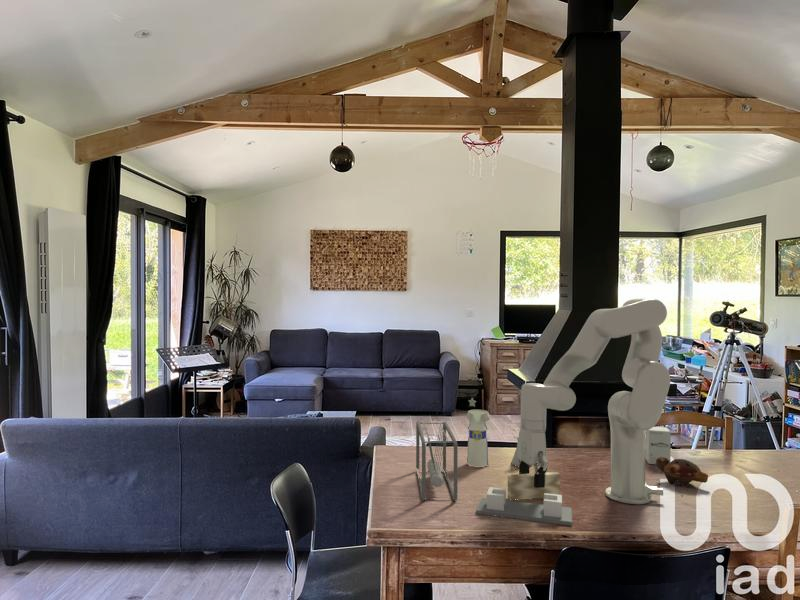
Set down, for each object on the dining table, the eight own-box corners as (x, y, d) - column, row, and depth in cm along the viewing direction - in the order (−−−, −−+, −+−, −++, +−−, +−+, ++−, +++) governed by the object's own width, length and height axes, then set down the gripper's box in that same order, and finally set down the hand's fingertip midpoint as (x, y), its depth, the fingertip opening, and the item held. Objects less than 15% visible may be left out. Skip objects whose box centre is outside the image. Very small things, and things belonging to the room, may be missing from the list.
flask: (507, 463, 187) (507, 436, 187) (523, 461, 190) (523, 434, 190) (519, 469, 180) (519, 440, 181) (536, 466, 184) (535, 438, 184)
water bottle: (489, 469, 180) (489, 398, 181) (465, 467, 182) (465, 397, 182) (490, 462, 188) (490, 394, 189) (467, 460, 190) (467, 393, 190)
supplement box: (648, 464, 186) (648, 429, 187) (645, 458, 193) (645, 425, 194) (671, 466, 184) (670, 431, 184) (666, 460, 191) (666, 426, 192)
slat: (556, 494, 156) (556, 471, 156) (560, 497, 153) (560, 474, 154) (507, 498, 152) (507, 474, 153) (511, 501, 150) (511, 477, 150)
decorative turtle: (659, 475, 174) (659, 452, 174) (710, 485, 164) (710, 460, 164) (652, 483, 166) (652, 458, 166) (705, 493, 157) (705, 467, 157)
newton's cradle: (416, 471, 178) (416, 420, 178) (445, 471, 178) (445, 420, 179) (421, 503, 148) (422, 442, 148) (457, 503, 148) (457, 442, 149)
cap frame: (571, 511, 142) (571, 493, 142) (572, 525, 133) (572, 506, 133) (481, 501, 150) (481, 484, 150) (476, 513, 140) (476, 495, 140)
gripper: (509, 418, 161) (507, 473, 161) (535, 431, 144) (533, 492, 144) (531, 418, 163) (529, 472, 162) (559, 431, 146) (557, 491, 145)
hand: (531, 481), depth 153 cm, fingers open, 9 cm apart
